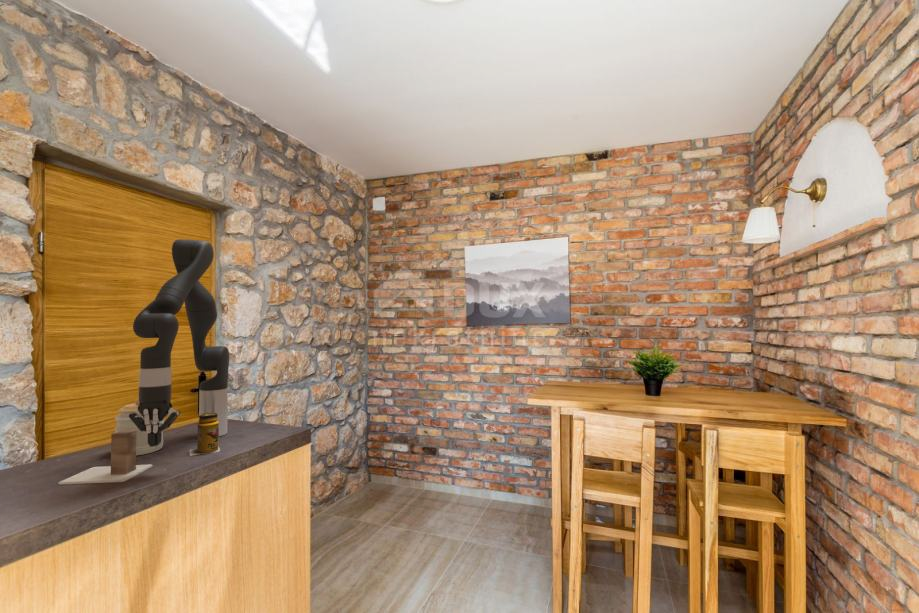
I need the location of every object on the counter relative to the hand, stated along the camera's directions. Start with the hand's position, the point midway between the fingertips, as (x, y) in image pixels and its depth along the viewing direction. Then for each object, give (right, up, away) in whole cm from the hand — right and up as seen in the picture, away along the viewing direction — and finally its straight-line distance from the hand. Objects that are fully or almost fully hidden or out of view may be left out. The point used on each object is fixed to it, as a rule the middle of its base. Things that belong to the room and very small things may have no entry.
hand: (154, 445), depth 119 cm
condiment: (+2, -9, +20) cm, 22 cm away
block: (-8, -7, -1) cm, 11 cm away
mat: (-12, -8, -1) cm, 14 cm away
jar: (-20, -9, +21) cm, 30 cm away
